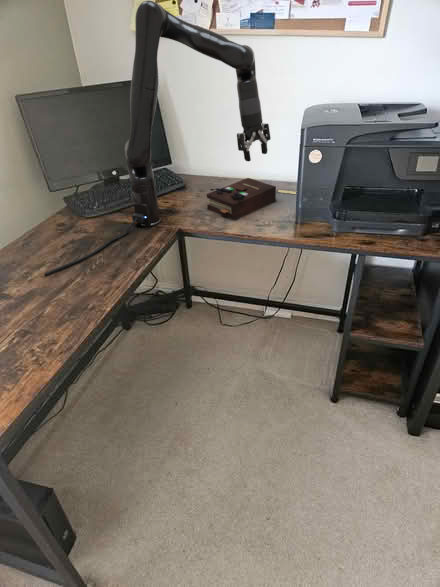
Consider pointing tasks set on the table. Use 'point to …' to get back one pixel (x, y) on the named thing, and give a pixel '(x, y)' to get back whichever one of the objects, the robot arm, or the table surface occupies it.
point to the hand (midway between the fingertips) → (256, 157)
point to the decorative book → (241, 198)
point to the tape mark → (287, 192)
